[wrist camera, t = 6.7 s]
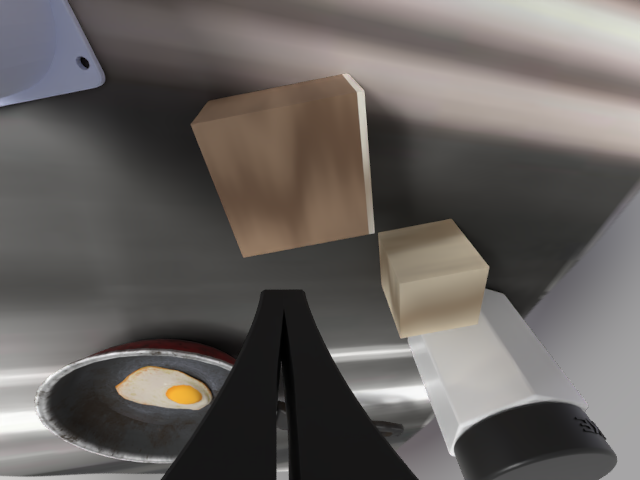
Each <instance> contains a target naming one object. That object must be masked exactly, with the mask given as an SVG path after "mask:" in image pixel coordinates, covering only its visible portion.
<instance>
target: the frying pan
mask: <svg viewBox="0 0 640 480" xmlns="http://www.w3.org/2000/svg"><path fill="white" fill-rule="evenodd" d="M235 361H236V359H234V358H233V357H231V356H230V355H228V354H227V353H225V352H223V351H220V350H218V349H216V348H214V347H211V346H208V345H204V344H201V343H197V342H192V341H186V340H179V339H149V340H140V341H136V342H131V343H126V344H123V345H119V346H115V347H111V348H109V349H106V350H103V351H100V352H98V353H95V354H93V355H90V356H88V357H86V358H84V359H81V360H78V361H75V362H73V363H70V364H69V365H67V366H65V367H63V368H62V369H60V370H58V371H57V372H55V373H54V374H52V375H50V376H49V377H48V378H47V379H46V380H45V381H44V382H43V383H42V385H41V386H40V387H39V388H38V391H37V394H36V397H35V400H34V402H35V409H36V413H37V415H38V417H39V418H40V420H41V422H42V423H43V424H44V425H45V426H46V427H47V428H48V429H49V430H50V431H51V432H52V433H53V434H55V435H56V436H58V437H59V438H61V439H63V440H64V441H66V442H67V443H70V444H72V445H74V446H76V447H79V448H81V449H83V450H86V451H89V452H92V453H96V454H99V455H102V456H106V457H111V458H116V459H120V460H127V461H135V462H144V463H173V462H174V461H175V459H176V458H177V456H178V455H179V454H180V452H181V451H182V449H183V448H184V447H185V445H186V444H187V442H188V441H189V439H190V438H191V436H192V435H193V433H194V432H195V430H196V429H197V427H198V426H199V424H200V422H201V421H202V419H203V418H204V416H205V414H206V413H207V411H208V410H209V408H210V407H211V405H212V403H213V401H214V400H215V398H216V396H217V395H218V393H219V391H220V389H221V388H222V386H223V384H224V382H225V380H226V379H227V377H228V375H229V373H230V371H231V369H232V367H233V365H234V363H235ZM372 422H373V423H374V424H375V426H376V427H377V428H378V430H379V431H380V432H381V434H382V435H383V436H384V437H394V436H399V435H400V434H401V433H402V432H403V430H404V429H403V426H402V424H396V423H390V422H385V421H372ZM276 428H279V429H282V430H288V426H287V415H286V405H285V402H281V401H277V412H276Z"/></svg>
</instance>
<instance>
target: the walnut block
mask: <svg viewBox="0 0 640 480" xmlns="http://www.w3.org/2000/svg"><path fill="white" fill-rule="evenodd" d="M191 127H192V130H193V132H194V135H195V137H196V140H197V142H198V145H199V147H200V150H201V152H202V155H203V157H204V160H205V162H206V165H207V167H208V170H209V172H210V175H211V177H212V180H213V182H214V185H215V187H216V190H217V192H218V195H219V197H220V200H221V203H222V205H223V208H224V210H225V213H226V215H227V218H228V220H229V223H230V225H231V228H232V230H233V233H234V235H235V238H236V240H237V243H238V245H239V248H240V250H241V253H242V255H243V258H245V257H250V256H255V255H261V254H266V253H271V252H277V251H282V250H287V249H293V248H298V247H303V246H309V245H314V244H319V243H325V242H330V241H335V240H341V239H346V238H351V237H357V236H362V235H367V234H373V233H375V230H374V216H373V203H372V189H371V175H370V161H369V147H368V133H367V119H366V106H365V92H364V90H363V89H362V88H361V86H360V85H359V84H358V83H357V82H356V81H355V80H354V79H353V78H352V77H351V76H350V75H349V74H348V73H346V74H341V75H336V76H331V77H326V78H321V79H316V80H311V81H306V82H301V83H296V84H291V85H285V86H280V87H275V88H270V89H265V90H260V91H255V92H250V93H245V94H240V95H235V96H230V97H225V98H219V99H214V100H209V101H208V102H207V103H206V105H205V106H204V107H203V109H202V110H201V111H200V113H199V114H198V115H197V117H196V118H195V119H194V121H193V122H192V123H191Z"/></svg>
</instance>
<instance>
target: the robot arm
mask: <svg viewBox="0 0 640 480" xmlns="http://www.w3.org/2000/svg"><path fill="white" fill-rule="evenodd" d="M81 56H82V57H84V58H86V59H87V60H88V62H89V65H90V66H89V68H86V67H84V66H83V65H82V63H81V61H80V58H81ZM104 82H105V74H104V72H103V70H102V68H101V66H100V64H99V62H98V60H97V58H96V56H95V54H94V52H93V50H92V48H91V46H90V44H89V42H88V40H87V38H86V36H85V34H84V32H83V30H82V28H81V26H80V24H79V22H78V20H77V18H76V16H75V14H74V12H73V10H72V9H71V7H70V5H69V3H68V1H67V0H0V107H1V106H6V105H11V104H16V103H21V102H26V101H31V100H36V99H41V98H46V97H51V96H57V95H62V94H67V93H72V92H77V91H82V90H87V89H92V88H97V87H99V86H101V85H103V84H104ZM281 361H282V372H283V383H284V394H285V405H286V415H287V426H288V445H289V480H419V479H418V478H417V477H416V476H415V475H414V474H413V473H412V471H411V470H410V469H409V468H408V467H407V465H406V464H405V463H404V462H403V460H402V459H401V458H400V457H399V456H398V454H397V453H396V452H395V451H394V449H393V448H392V447H391V445H390V444H389V443H388V441H387V440H386V439H385V437H384V436H383V435H382V434H381V432H380V431H379V430H378V428H377V427H376V426H375V424H374V423H373V422H372V420H371V419H370V418H369V416H368V415H367V413H366V412H365V410H364V409H363V408H362V406H361V405H360V403H359V402H358V400H357V399H356V397H355V396H354V394H353V393H352V391H351V389H350V388H349V386H348V385H347V383H346V381H345V380H344V378H343V376H342V375H341V373H340V371H339V369H338V368H337V366H336V364H335V362H334V360H333V359H332V357H331V355H330V353H329V351H328V349H327V347H326V345H325V343H324V341H323V339H322V337H321V335H320V333H319V330H318V328H317V326H316V324H315V321H314V319H313V316H312V314H311V311H310V308H309V305H308V302H307V299H306V295H305V292H304V291H303V290H263V291H262V292H261V295H260V301H259V304H258V308H257V311H256V314H255V317H254V320H253V323H252V325H251V328H250V330H249V333H248V335H247V337H246V340H245V342H244V344H243V347H242V349H241V351H240V353H239V355H238V357H237V359H236V361H235V363H234V365H233V367H232V369H231V371H230V373H229V375H228V377H227V379H226V380H225V382H224V384H223V386H222V388H221V389H220V391H219V393H218V395H217V396H216V398H215V400H214V401H213V403H212V405H211V407H210V408H209V410H208V411H207V413H206V414H205V416H204V418H203V419H202V421H201V422H200V424H199V426H198V427H197V429H196V430H195V432H194V433H193V435H192V436H191V438H190V439H189V441H188V442H187V444H186V445H185V447H184V448H183V449H182V451H181V452H180V454H179V455H178V456H177V458H176V459H175V461H174V462H173V463H172V465H171V466H170V468H169V469H168V470H167V472H166V473H165V475H164V476H163V477H162V479H161V480H276V412H277V401H278V390H279V379H280V368H281Z"/></svg>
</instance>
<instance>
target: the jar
mask: <svg viewBox="0 0 640 480" xmlns="http://www.w3.org/2000/svg"><path fill="white" fill-rule="evenodd" d="M408 344H409V346H410V349H411V352H412V354H413V357H414V360H415V362H416V365H417V368H418V370H419V373H420V376H421V378H422V381H423V384H424V386H425V389H426V392H427V394H428V397H429V400H430V402H431V405H432V408H433V411H434V413H435V416H436V419H437V421H438V424H439V427H440V429H441V432H442V435H443V437H444V440H445V443H446V445H447V448H448V451H449V453H450V455H451V456H455V457H456V459H457V461H458V464H459V466H460V469H461V472H462V474H463V477H464V479H465V480H599V479H600V478H602V477H603V476H605V475H607V474H608V473H609V472H610V471H611V470H612V469H613V468H614V467H615V465H616V463H617V456H616V454H615V453H614V451H613V450H612V449H611V447H610V446H609V445H608V443H607V442H606V441H605V440H606V438H605V437H604V435H603V434H602V433H601V431H600V430H599V429H598V427H597V426H596V425H595V424H594V422H593V421H591V420H590V419H589V418H588V416H587V415H586V413H585V411H586V410H587V408H588V403H587V402H586V401H585V399H584V398H583V397H582V395H581V394H580V393H579V392H578V390H577V389H576V388H575V386H574V385H573V384H572V382H571V381H570V380H569V378H568V377H567V376H566V375H565V373H564V372H563V371H562V369H561V368H560V367H559V365H558V364H557V363H556V361H555V360H554V359H553V357H552V356H551V355H550V354H549V353H548V351H547V350H546V348H545V347H544V346H543V344H542V343H541V342H540V341H539V339H538V338H537V337H536V335H535V334H534V333H533V331H532V330H531V329H530V327H529V326H528V325H527V324H526V322H525V321H524V319H523V318H522V317H521V316H520V314H519V313H518V312H517V310H516V309H515V308H514V306H513V305H512V304H511V302H510V301H509V300H508V299H507V297H506V296H505V295H504V294H503V293H499V292H496V291H493V290H489V289H486V288H485V291H484V296H483V301H482V305H481V310H480V315H479V320H478V324H476V325H471V326H466V327H460V328H455V329H449V330H444V331H438V332H433V333H427V334H422V335H417V336H411V337H408Z"/></svg>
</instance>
